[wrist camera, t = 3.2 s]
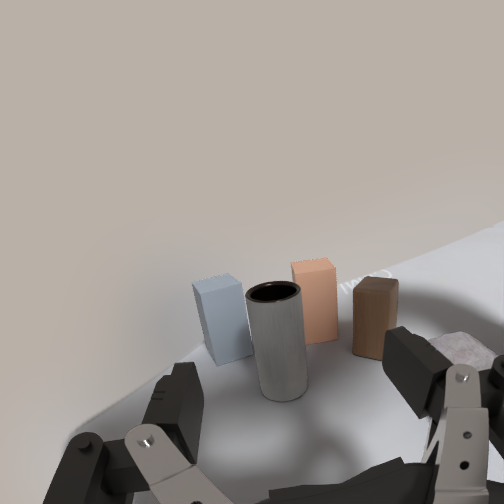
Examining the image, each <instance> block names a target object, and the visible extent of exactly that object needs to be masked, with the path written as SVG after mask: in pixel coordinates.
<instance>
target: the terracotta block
mask: <svg viewBox="0 0 504 504" xmlns="http://www.w3.org/2000/svg"><path fill="white" fill-rule="evenodd" d="M291 268H292V278H293V283H296V284H298V285H299V286H300V287H301V293H302V304H303V316H304V330H305V344H306V345H307V344H314V343H320V342H326V341H332V340H338V308H337V281H336V268H335V267H334V266H333V264H332V263H331V262H330V261H329V260H328V258H322V259H315V260H307V261H299V262H292V263H291Z"/></svg>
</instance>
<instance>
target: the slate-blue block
mask: <svg viewBox="0 0 504 504" xmlns="http://www.w3.org/2000/svg"><path fill="white" fill-rule="evenodd" d="M192 286H193V291H194V296H195V300H196V304H197V309H198V313H199V317H200V322H201V326H202V330H203V334H204V338H205V342H206V346H207V349H208V351H209V353H210V354H211V356H212V358H213V360H214V361H215V363H216V365H217V366H219V365H223V364H226V363H229V362H232V361H235V360H238V359H241V358H244V357H247V356H250V355H253V348H252V342H251V336H250V331H249V325H248V319H247V313H246V307H245V301H244V295H243V289H242V283H241V282H239V281H238V280H237V279H235V278H234V277H233V276H231V275H230V274H228V273H227V274H223V275H219V276H215V277H211V278H207V279H203V280H199V281H195V282H192Z"/></svg>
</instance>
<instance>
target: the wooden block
mask: <svg viewBox="0 0 504 504" xmlns="http://www.w3.org/2000/svg"><path fill="white" fill-rule="evenodd" d="M398 287H399V282H398V280H397V279H391V278H380V277H370V276H367V277H365V278H364V279H363V280H362V281H361V282H360V283H359V284H358V285H357V286H356V287H355V288H354V289H353V348H352V353H353V354H354V355H358V356H362V357H367V358H372V359H377V360H382V356H383V347H384V337H385V332H386V331H387V330H390V329H393V328H396V321H397V307H398Z"/></svg>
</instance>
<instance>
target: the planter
mask: <svg viewBox="0 0 504 504" xmlns="http://www.w3.org/2000/svg"><path fill="white" fill-rule="evenodd" d="M245 297H246V304H247V310H248V317H249V323H250V329H251V335H252V341H253V347H254V352H255V358H256V364H257V370H258V376H259V381H260V387H261V391H262V393H263V395H264V396H265V397H267V398H268V399H270V400H273V401H278V402H285V401H291V400H294V399H296V398H298V397H300V396H301V395H302V394H303V393H304V392H305V391H306V389H307V383H308V379H307V360H306V344H305V330H304V316H303V304H302V293H301V287H300V286H299V285H298V284H296V283H293V282H289V281H273V282H266V283H262V284H259V285H256V286H254V287H252V288H250V289H249V290H248V291H247V292H246V295H245Z"/></svg>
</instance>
